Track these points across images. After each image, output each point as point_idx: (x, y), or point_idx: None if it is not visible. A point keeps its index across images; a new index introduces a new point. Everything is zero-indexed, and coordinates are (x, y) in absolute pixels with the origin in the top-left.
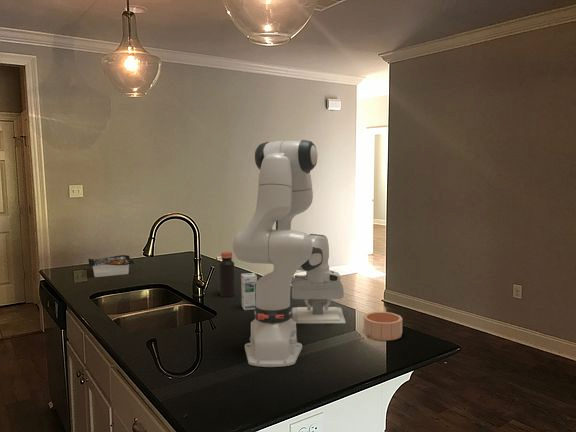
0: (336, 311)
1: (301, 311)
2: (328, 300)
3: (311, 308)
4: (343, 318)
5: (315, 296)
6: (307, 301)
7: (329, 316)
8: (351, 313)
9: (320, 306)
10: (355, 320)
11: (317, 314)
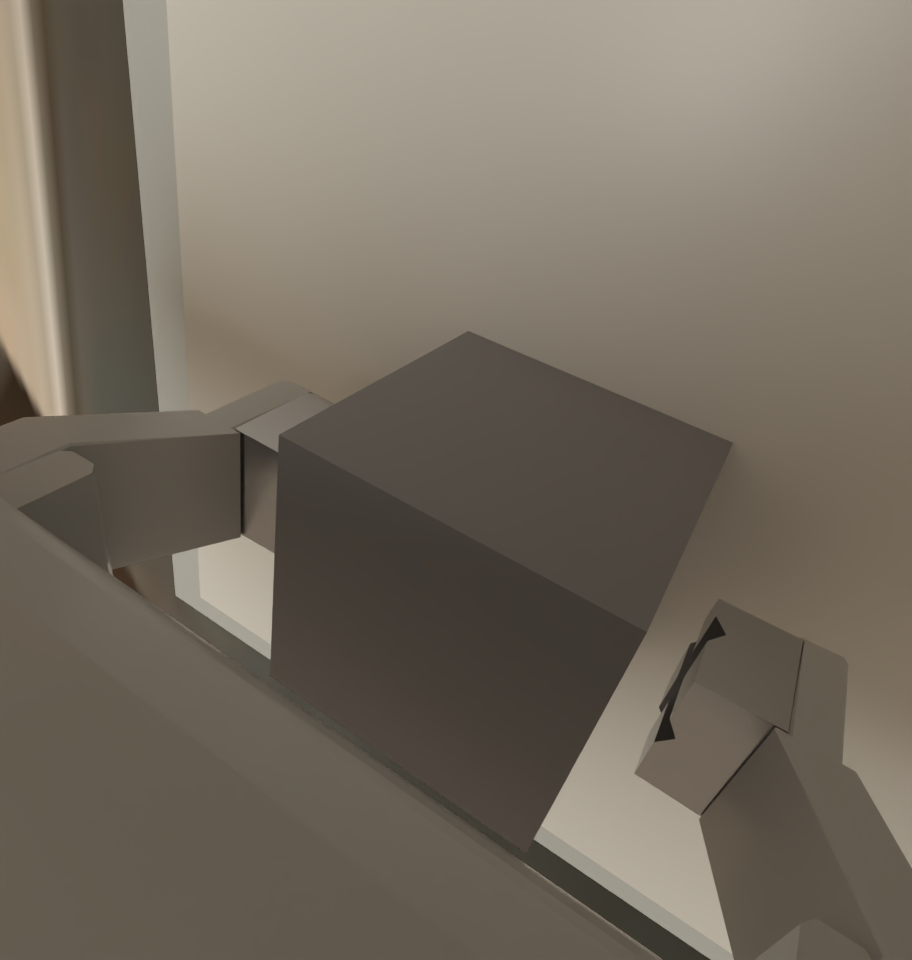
0: (206, 404)
1: (908, 796)
2: (38, 474)
3: (570, 778)
4: (138, 16)
5: (292, 907)
6: (833, 941)
7: (362, 94)
8: (100, 392)
9: (406, 445)
10: (31, 19)
11: (605, 386)
